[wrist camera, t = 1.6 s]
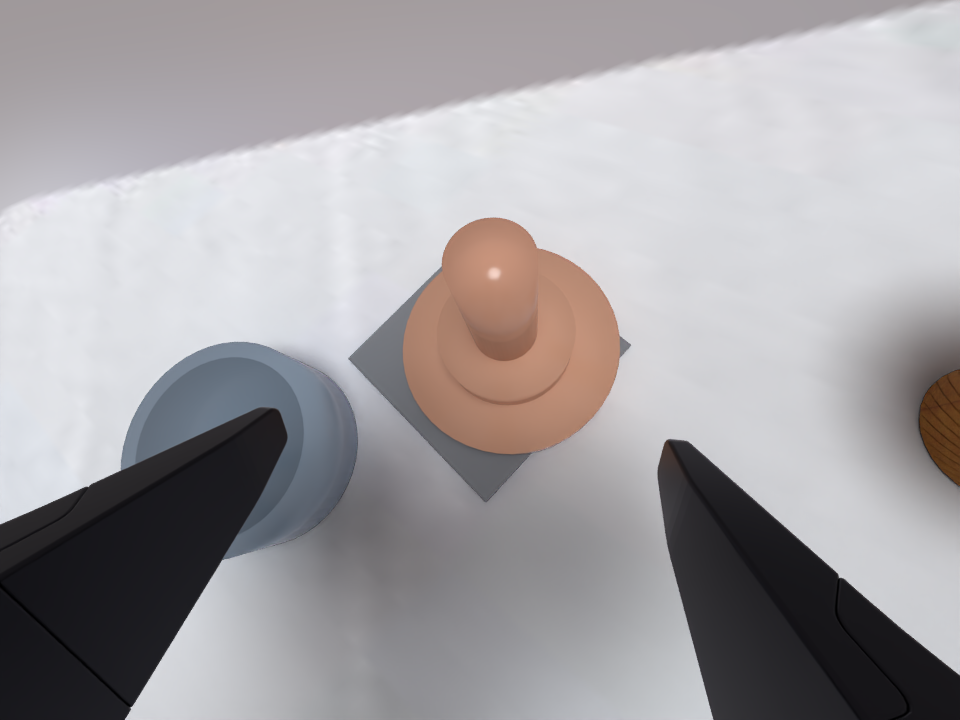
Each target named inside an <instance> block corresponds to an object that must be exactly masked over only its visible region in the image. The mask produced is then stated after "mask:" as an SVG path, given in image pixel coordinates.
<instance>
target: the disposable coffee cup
mask: <svg viewBox="0 0 960 720" xmlns="http://www.w3.org/2000/svg"><path fill="white" fill-rule="evenodd" d="M919 422H920V431H921V434H922V438H923V441H924V444H925V446H926V448H927V450H928V452H929V453H930V455H931V457H932V459H933V460H934V461H935V463H936V464H937V465H938V466H939V468H940V469H941V470H942V471H943V472H944V473H945V474H946V475H947V476H948V477H949V478H951V479H952V480H953V481H954V482H955V483H956V484H957V485H959V486H960V370H956V371H953V372H951V373H949V374H947V375H945V376H943V377H941V378H940V379H939V380H938V381H937V382H936V383H934V384H933V385H932V386H931V387H930V389H929V390H928V391H927V393H926V394H925V396H924V399H923V401H922V404H921V409H920V419H919Z"/></svg>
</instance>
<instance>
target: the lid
mask: <svg viewBox="0 0 960 720" xmlns="http://www.w3.org/2000/svg"><path fill="white" fill-rule="evenodd" d="M619 357H620V336H619V331H618V325H617V321H616V318H615V315H614V312H613V309H612V307H611V305H610V303H609V301H608V299H607V297H606V296H605V294H604V293H603V291H602V290H601V288H600V287H599V286H598V285H597V283H596V282H595V281H594V280H593V279H592V278H591V277H590V276H589V275H588V274H587V273H586V272H585V271H583V270H582V269H581V268H580V267H578V266H577V265H575V264H574V263H572V262H571V261H569V260H568V259H565V258H563V257H561V256H559V255H557V254H555V253H552V252H549V251H546V250H543V249H538V248H537V247H536V244H535V242H534V240H533V238H532V237H531V235H530V234H529V233H528V232H527V231H526V230H525V229H524V228H523V227H521V226H520V225H518V224H517V223H515V222H513V221H510V220H507V219H502V218H484V219H480V220H476V221H473V222H471V223H469V224H467V225H465V226H464V227H462V228H461V229H460V230H458V231H457V232H456V233H455V234H454V235H453V236H452V238H451V239H450V240H449V242H448V244H447V245H446V247H445V250H444V253H443V257H442V272H441V273H439V274H438V275H437V276H436V277H435V278H434V279H433V280H432V281H431V282H430V283H429V284H428V285H427V287H426V288H425V289H424V291H423V292H422V293H421V295H420V296H419V298H418V299H417V301H416V303H415V305H414V307H413V309H412V311H411V313H410V316H409V319H408V321H407V325H406V329H405V333H404V341H403V364H404V370H405V375H406V378H407V382H408V385H409V388H410V390H411V392H412V394H413V397H414V399H415V400H416V402H417V404H418V405H419V407H420V408H421V410H422V411H423V412H424V414H425V415H426V416H427V417H428V418H429V419H430V421H431V422H432V423H433V424H435V425H436V426H437V427H438V428H439V429H440V430H441V431H443V432H444V433H446V434H447V435H449V436H450V437H452V438H453V439H455V440H457V441H459V442H461V443H463V444H465V445H467V446H470V447H473V448H476V449H479V450H482V451H485V452H490V453H495V454H506V455H517V454H528V453H532V452H537V451H541V450H544V449H547V448H549V447H552V446H555V445H556V444H558V443H560V442H562V441H564V440H566V439H568V438H569V437H570V436H572V435H573V434H574V433H576V432H577V431H579V430H580V429H581V428H582V427H583V426H584V425H585V424H586V423H587V422H588V421H589V420H590V419H591V418H592V417H593V416H594V415H595V414H596V412H597V411H598V410H599V408H600V407H601V406H602V404H603V403H604V401H605V399H606V398H607V396H608V394H609V393H610V390H611V388H612V385H613V383H614V380H615V377H616V373H617V369H618V365H619Z"/></svg>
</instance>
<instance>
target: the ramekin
mask: <svg viewBox="0 0 960 720" xmlns="http://www.w3.org/2000/svg"><path fill="white" fill-rule="evenodd" d="M258 407H273V408H277V409H278V410H279V411H280V413H281V416H282V419H283V422H284V425H285V427H286V430H287V434H288V439H287V443H286V445H285V447H284V449H283V452H282V454H281V456H280V458H279V460H278V462H277V464H276V466H275V468H274V470H273V472H272V474H271V476H270V478H269V481H268V483H267V485H266V487H265V489H264V491H263V493H262V495H261V496H260V498H259V500H258V502H257V504H256V505H255V507H254V509H253V510H252V512H251V514H250V515H249V517H248V518H247V520H246V522H245V523H244V525H243V527H242V528H241V530H240V532H239V533H238V535H237V536H236V538H235V540H234V541H233V543H232V545H231V546H230V548H229V549H228V551H227V553H226V554H225V556H224V558H223V559H222V560H224V559H228V558H232V557H235V556H239V555H242V554H246V553H249V552H253V551H256V550H260V549H263V548H267V547H270V546H274V545H277V544H281V543H284V542H287V541H290V540H292V539H295V538H297V537H299V536H301V535H303V534H304V533H306V532H308V531H309V530H311V529H312V528H313V527H315V526H316V525H317V524H318V523H320V522H321V521H322V520H323V519H324V518H325V517H326V516H327V515H328V514H329V513H330V511H331V510H332V509H333V508H334V507H335V505H336V504H337V502H338V501H339V499H340V498H341V496H342V495H343V493H344V491H345V489H346V487H347V485H348V483H349V480H350V477H351V475H352V472H353V468H354V464H355V460H356V453H357V429H356V422H355V418H354V414H353V411H352V409H351V406H350V404H349V401H348V400H347V398H346V396H345V395H344V393H343V392H342V390H341V389H340V388H339V387H338V385H337V384H336V383H335V382H334V381H333V380H332V379H331V378H329V377H328V376H327V375H325V374H324V373H322V372H321V371H319V370H317V369H315V368H312V367H310V366H308V365H306V364H304V363H302V362H300V361H297V360H295V359H293V358H291V357H289V356H287V355H284V354H282V353H280V352H278V351H276V350H274V349H271V348H269V347H266V346H263V345H260V344H255V343H249V342H230V343H222V344H218V345H214V346H210V347H207V348H205V349H202V350H200V351H197V352H195V353H194V354H192V355H190V356H188V357H186V358H185V359H183V360H182V361H180V362H179V363H177V364H176V365H174V366H173V367H172V368H171V369H170V370H168V371H167V372H166V373H165V374H164V375H163V376H162V377H161V378H160V379H159V380H158V381H157V382H156V383H155V384H154V386H153V387H152V388H151V389H150V391H149V392H148V393H147V395H146V396H145V398H144V399H143V401H142V402H141V404H140V405H139V407H138V409H137V411H136V413H135V415H134V417H133V419H132V421H131V424H130V427H129V429H128V432H127V435H126V439H125V442H124V446H123V452H122V459H121V470H123V469H126V468H128V467H130V466H132V465H134V464H136V463H139V462H141V461H143V460H145V459H147V458H150V457H152V456H154V455H156V454H158V453H160V452H163V451H165V450H167V449H169V448H171V447H173V446H176V445H178V444H180V443H182V442H184V441H186V440H189V439H191V438H193V437H195V436H197V435H200V434H202V433H204V432H206V431H208V430H210V429H213V428H215V427H217V426H219V425H221V424H223V423H226V422H228V421H230V420H232V419H234V418H236V417H239V416H241V415H243V414H245V413H247V412H250V411H252V410H254V409H256V408H258Z"/></svg>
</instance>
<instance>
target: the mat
mask: <svg viewBox="0 0 960 720" xmlns="http://www.w3.org/2000/svg"><path fill="white" fill-rule="evenodd" d="M441 272H442V267H441V268H440V269H439V270H438V271H437V272H436V273H434V274H433V275H432V276H431V277H430V278H429V279H428V280H427V281H426V282H425V283H424V284H423V285H422V286H421V287H420V288H419V289H418V290H417V291H416V292H415V293H414V294H413V295H412V296H411V297H410V298H409V299H408V300H407V301H406V302H405V303H404V304H403V305H402V306H401V307H400V308H399V309H398V310H397V311H396V312H395V313H394V314H393V315H392V316H391V317H390V318H389V319H388V320H387V321H386V322H385V323H384V324H383V325H382V326H381V327H380V328H379V329H378V330H377V331H376V332H375V333H374V334H373V335H372V336H371V337H370V338H369V339H368V340H366V341H365V342H364V343H363V344H362V345H361V346H360V347H359V348H358V349H357V350H356V351H355V352H354V353H353V354H352V355H351V356H350V357H349V358H348V359H349V360H350V361H351V362H352V363H353V364H354V365H355V366H356V367H357V368H358V369H359V370H360V371H361V373H362V374H363V375H364V376H365V377H366V378H367V379H368V380H369V381H370V382H371V383H372V384H373V385H374V386H375V387H376V388H377V389H378V390H379V391H380V392H381V393H382V394H383V396H384V397H385V398H386V399H387V400H388V401H389V402H390V403H391V404H392V405H393V406H394V407H395V408H396V409H397V410H398V411H399V412H400V413H401V414H402V415H403V416H404V417H405V418H406V420H407V421H408V422H409V423H410V424H411V425H412V426H413V427H414V428H415V429H416V430H417V431H418V432H419V433H420V434H421V435H422V436H423V437H424V438H425V439H426V440H427V441H428V443H429V444H430V445H431V446H432V447H433V448H434V449H435V450H436V451H437V452H438V453H439V454H440V455H441V456H442V457H443V458H444V459H445V460H446V461H447V462H448V463H449V464H450V466H451V467H452V468H453V469H454V470H455V471H456V472H457V473H458V474H459V475H460V476H461V477H462V478H463V479H464V480H465V481H466V482H467V483H468V484H469V485H470V486H471V487H472V489H473V490H474V491H475V492H476V493H477V494H478V495H479V496H480V497H481V498H482V499H483V500H484V501H485V502H487V501H488V500H489V499H490V498H491V496H492V495H493V494H494V493H495V492H496V491H497V490H498V489H499V488H500V487H501V486H502V485H503V483H504V482H505V481H506V480H507V479H508V478H509V477H510V476H511V475H512V474H513V473H514V472H515V470H516V469H517V468H518V467H519V466H520V465H521V464H522V463H523V462H524V461H525V460H526V459H527V457H528V456H529V455H530V454H531V453H528V454H517V455H506V454H495V453H490V452H485V451H482V450H479V449H476V448H473V447H470V446H467V445H465V444H463V443H461V442H459V441H457V440H455V439H453V438H452V437H450V436H449V435H447V434H446V433H444V432H443V431H441V430H440V429H439V428H438V427H437V426H436V425H435V424H433V423H432V422H431V421H430V419H429V418H428V417H427V416H426V415H425V414H424V412H423V411H422V410H421V408H420V407H419V405H418V404H417V402H416V400H415V399H414V397H413V394H412V392H411V390H410V388H409V385H408V382H407V378H406V375H405V370H404V364H403V341H404V333H405V329H406V325H407V321H408V319H409V316H410V313H411V311H412V309H413V307H414V305H415V303H416V301H417V299H418V298H419V296H420V295H421V293H422V292H423V291H424V289H425V288H426V287H427V285H428V284H429V283H430V282H431V281H432V280H433V279H434V278H435V277H436V276H437V275H438V274H439V273H441ZM630 346H631V344H629V343H628V342H627V341H625V340H624V339H623V338H622V337H620V357H621V356H622V355H623V354H624V352H625V351H626V350H627V349H628V348H629V347H630ZM620 357H619V358H620Z"/></svg>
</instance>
